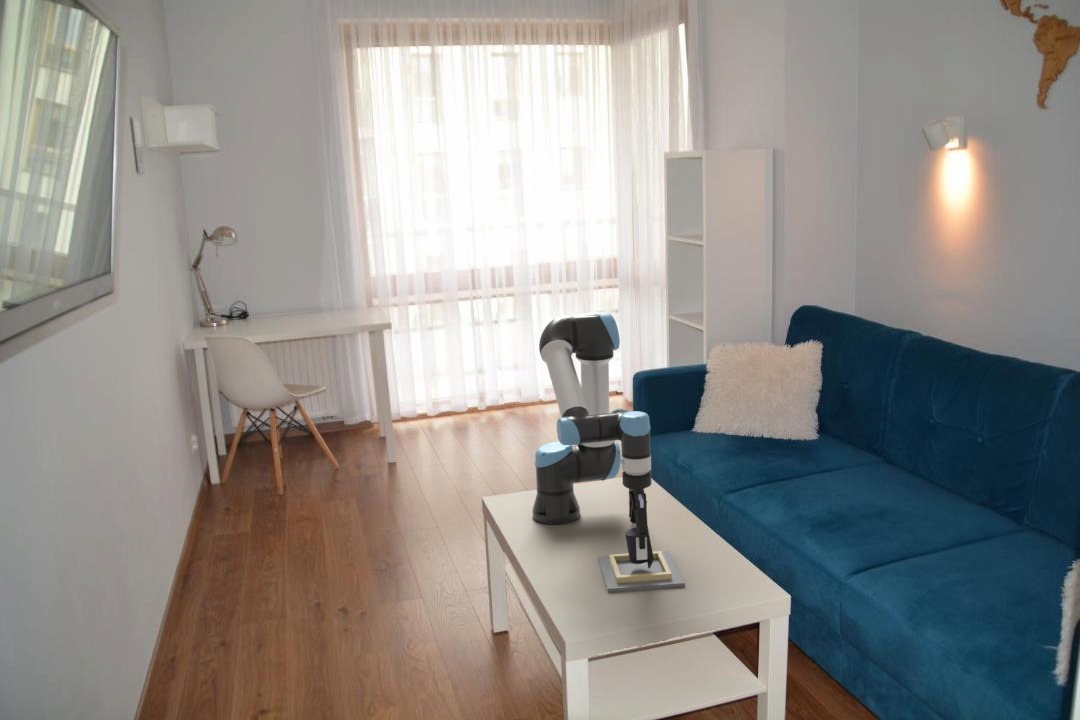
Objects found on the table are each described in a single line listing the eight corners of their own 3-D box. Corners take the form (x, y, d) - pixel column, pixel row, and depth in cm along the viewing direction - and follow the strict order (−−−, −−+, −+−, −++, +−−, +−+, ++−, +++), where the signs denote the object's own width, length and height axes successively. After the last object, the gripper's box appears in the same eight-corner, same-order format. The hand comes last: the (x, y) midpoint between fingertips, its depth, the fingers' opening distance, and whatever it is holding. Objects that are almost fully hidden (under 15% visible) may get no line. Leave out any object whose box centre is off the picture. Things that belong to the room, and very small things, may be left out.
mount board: (598, 559, 240) (597, 551, 240) (669, 554, 241) (668, 546, 241) (607, 592, 221) (607, 583, 220) (684, 586, 222) (684, 577, 221)
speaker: (661, 560, 230) (655, 523, 228) (649, 568, 226) (644, 531, 224) (637, 556, 235) (631, 520, 233) (625, 564, 231) (620, 528, 229)
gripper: (616, 460, 235) (619, 538, 240) (628, 484, 215) (631, 570, 220) (643, 458, 236) (646, 536, 240) (658, 482, 216) (660, 567, 220)
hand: (639, 552), depth 230 cm, fingers closed on speaker, 8 cm apart
